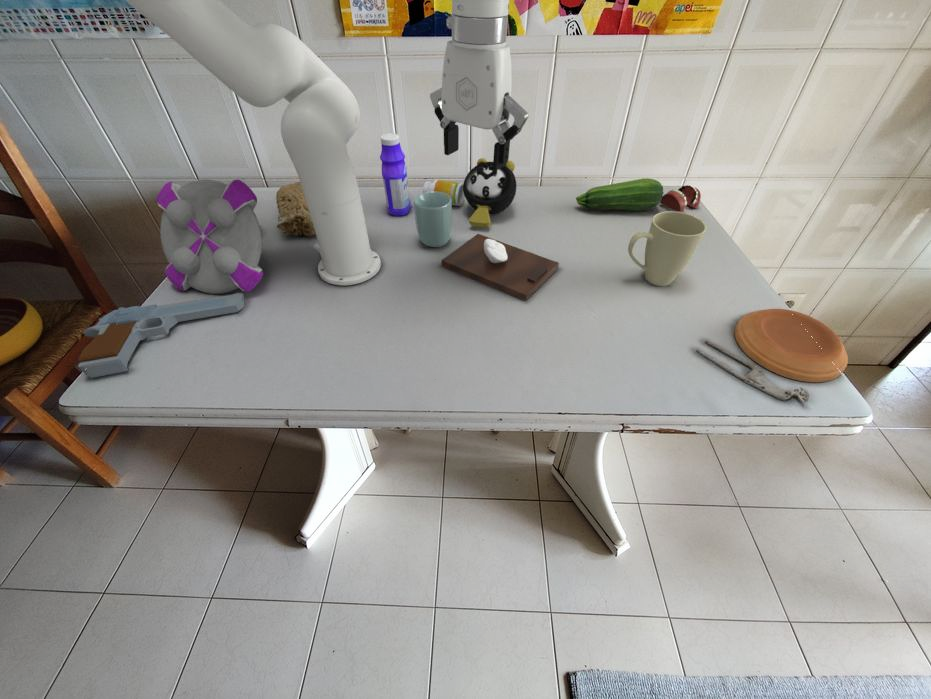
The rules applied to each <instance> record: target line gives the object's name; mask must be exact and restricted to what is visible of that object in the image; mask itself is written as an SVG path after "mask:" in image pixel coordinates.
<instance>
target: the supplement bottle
mask: <svg viewBox="0 0 931 699" xmlns="http://www.w3.org/2000/svg"><path fill="white" fill-rule="evenodd" d="M463 184H464V182H456V181H449V180H441V179H435V180H434V181H428V180H427V181H425V182H424V184H423V186H422V193H424V192H432V191H435V192H443V193H446V194H448V195H449V196H450V197H451V202H452V206H455V207H460V206H462V205H463V203H464V201H465V196H464V192H463Z"/></svg>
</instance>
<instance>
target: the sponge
mask: <svg viewBox="0 0 931 699" xmlns="http://www.w3.org/2000/svg"><path fill="white" fill-rule="evenodd" d="M275 200H276V207H277V209H278V212H279V216H278V217H277V222H276V228H277V229H279V231H281V232H284V234H285V235H291V236H302V235H304V236H307V237H312V236H314V235H316V233H315V229H314V226H313V222H312V219H311V215H310V212H309V209H308V205H307V202H306V199H305V196H304V193H303V189H302V186H301V183H300V181H295V182H294V183H290V184H284V185H282V186H281V187H279V189H278V190H277V191H276V195H275Z"/></svg>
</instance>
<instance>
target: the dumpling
mask: <svg viewBox="0 0 931 699" xmlns="http://www.w3.org/2000/svg"><path fill="white" fill-rule="evenodd" d="M492 239H493V238H492ZM492 239H486V240H485V241H484V251H485V254H486V255H487V257H488V258H489V260H490V261H491V262H492V263H500V262H505V261H506V260H507V253H506V249H505V247H504V245H503V244H501V243H499V242H497V241H498V240H497V241H495V240H496V239H494V240H492Z"/></svg>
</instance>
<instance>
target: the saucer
mask: <svg viewBox="0 0 931 699" xmlns="http://www.w3.org/2000/svg"><path fill="white" fill-rule="evenodd" d="M792 314H793V315H792ZM801 324H802V325H801ZM805 329H806V330H805ZM807 331H808V332H807ZM811 336H812V337H813V338H812V337H811ZM734 338H735V341H736V343H737V344H738V346H739V347H740V349H741V350H742V351H743V352H744V353H745V354H746V355H747V357H749V358H750V359H751V360H752V361H754V362H755V363H756V364H758V365H759V366H761V367H763V368H765V369H766V370H768V371H770V372H772V373H774V374H777V375H779V376H781V377H784V378H788V379H792V380H795V381H800V382H807V383H822V382H823V383H824V382H827V381H832V380H835V379H836V378H838V377H839V376H841V375H842V374H843V373H844V371H845V370H846V368H847V366H848V362H849V356H848V353H847V350H846V348H845V346H844V344H843V343H842V341H841V338H839V336H838V335H837V333H835V331H834V330H833V329H832V328H830V327H829V326H828V325H826V324H825V323H823V322H822V321H820V320H818V319H816V318H814V317H813V316H810V315H808V314H805V313H802V312H800V311H795V310H792V309H787V308H768V309H760V310H755V311H752V312H749V313H746V314H744V315H743V316H742V317H741V318H740V319H739V320H738V322H737V323H736V324H735V327H734ZM816 342H817V343H816ZM819 346H820V347H819ZM821 348H822V349H821ZM832 362H833V363H834V364H835V365H834V364H833V363H832ZM837 368H838V369H839V370H840V371H841V373H842V374H841V373H840V372H839V370H838V369H837Z"/></svg>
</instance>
